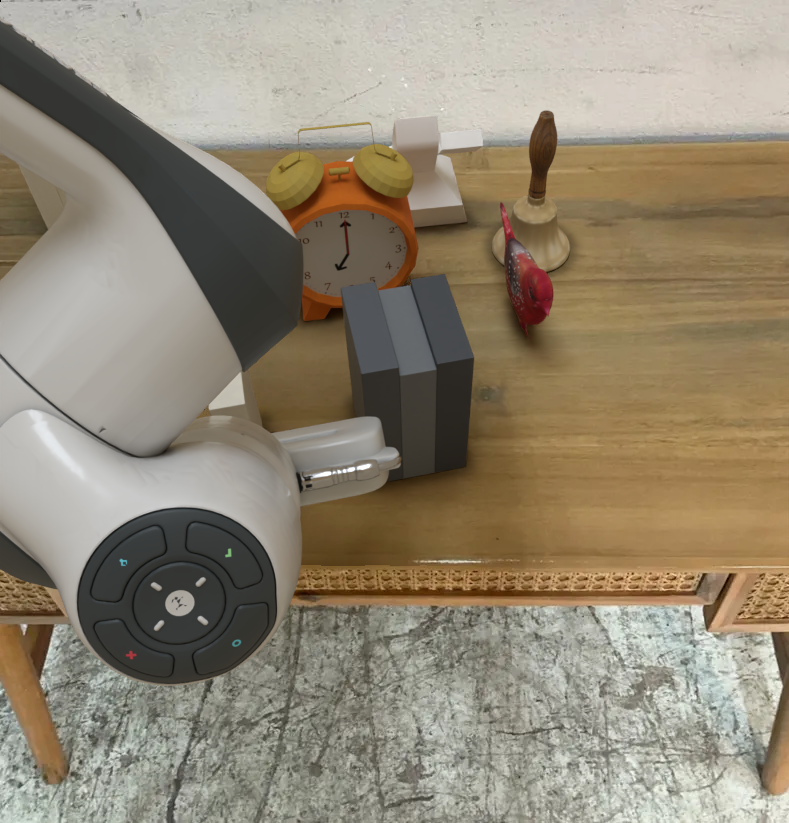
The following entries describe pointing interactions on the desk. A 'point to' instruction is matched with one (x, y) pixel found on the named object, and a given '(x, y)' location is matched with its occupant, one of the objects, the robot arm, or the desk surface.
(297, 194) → the alarm clock
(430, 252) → the desk surface
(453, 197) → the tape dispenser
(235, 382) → the white book
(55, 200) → the white books
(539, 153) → the hand bell
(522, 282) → the decorative bird figurine
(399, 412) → the grey books
